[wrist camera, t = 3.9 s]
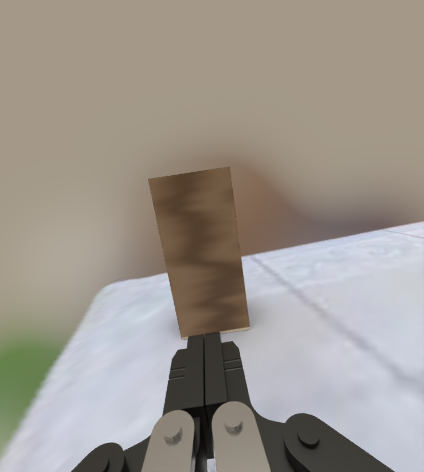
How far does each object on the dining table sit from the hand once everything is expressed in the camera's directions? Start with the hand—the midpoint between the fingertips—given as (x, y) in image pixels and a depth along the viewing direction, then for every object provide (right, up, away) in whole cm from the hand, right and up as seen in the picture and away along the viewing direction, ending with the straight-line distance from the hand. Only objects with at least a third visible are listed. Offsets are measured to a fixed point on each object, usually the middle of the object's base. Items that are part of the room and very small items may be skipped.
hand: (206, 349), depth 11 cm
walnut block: (+1, -4, +15) cm, 15 cm away
